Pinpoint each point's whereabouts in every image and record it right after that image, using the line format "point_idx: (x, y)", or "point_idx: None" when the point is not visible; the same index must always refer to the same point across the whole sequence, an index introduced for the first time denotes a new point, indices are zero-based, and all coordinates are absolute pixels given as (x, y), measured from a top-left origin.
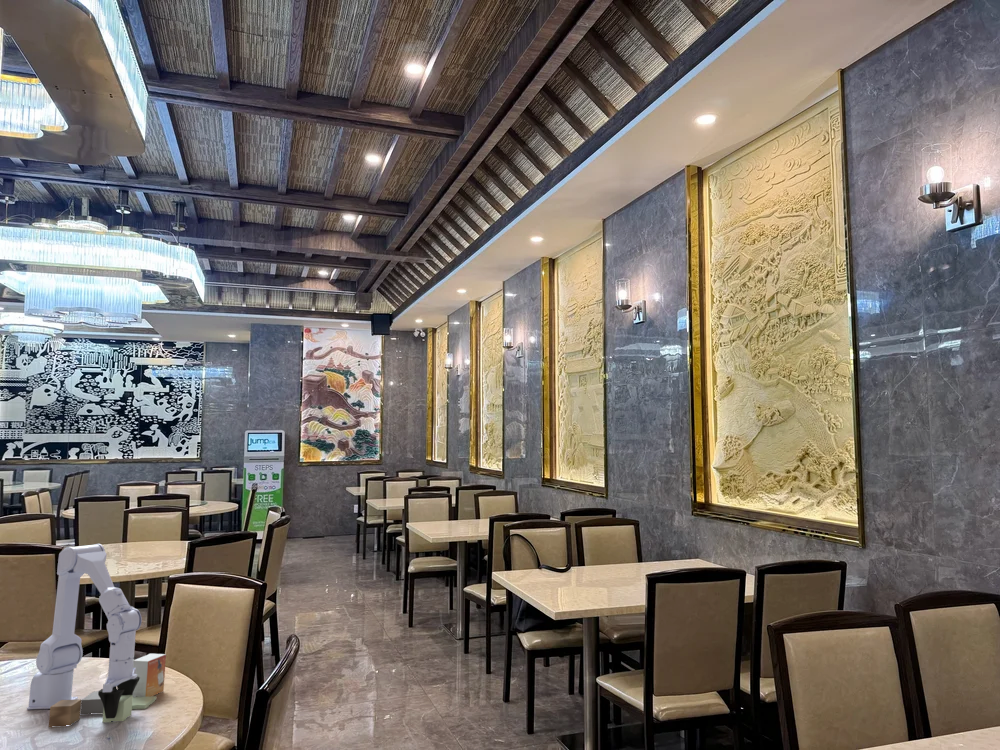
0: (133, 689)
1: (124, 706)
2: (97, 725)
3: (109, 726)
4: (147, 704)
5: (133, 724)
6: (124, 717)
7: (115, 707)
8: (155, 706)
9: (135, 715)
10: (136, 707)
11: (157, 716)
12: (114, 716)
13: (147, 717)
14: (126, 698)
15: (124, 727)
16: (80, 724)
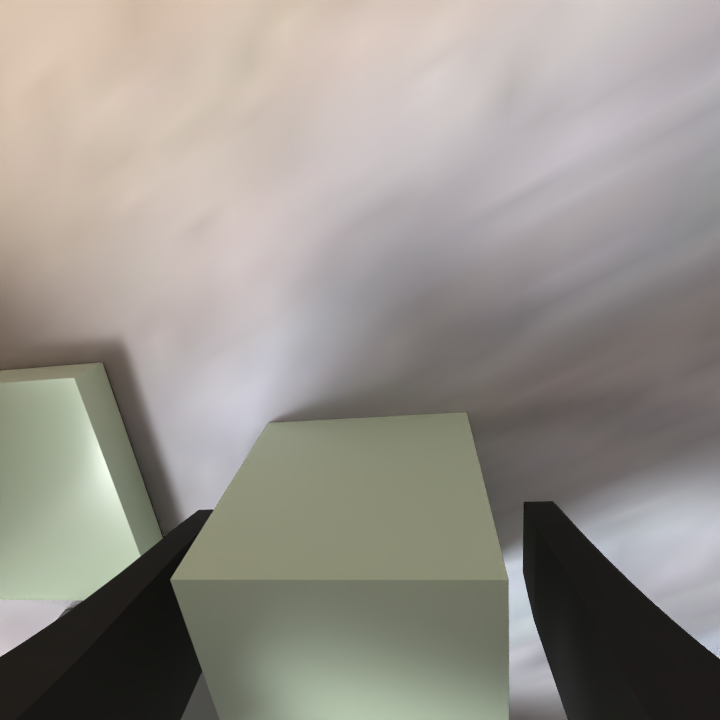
0: (35, 662)
1: (468, 513)
2: None
3: (597, 472)
4: (40, 377)
5: (578, 246)
6: (429, 428)
7: (642, 598)
8: (16, 294)
9: (288, 371)
10: (120, 452)
11: (304, 70)
12: (561, 511)
13: (343, 196)
14: (342, 603)
15: (668, 304)
16: None
